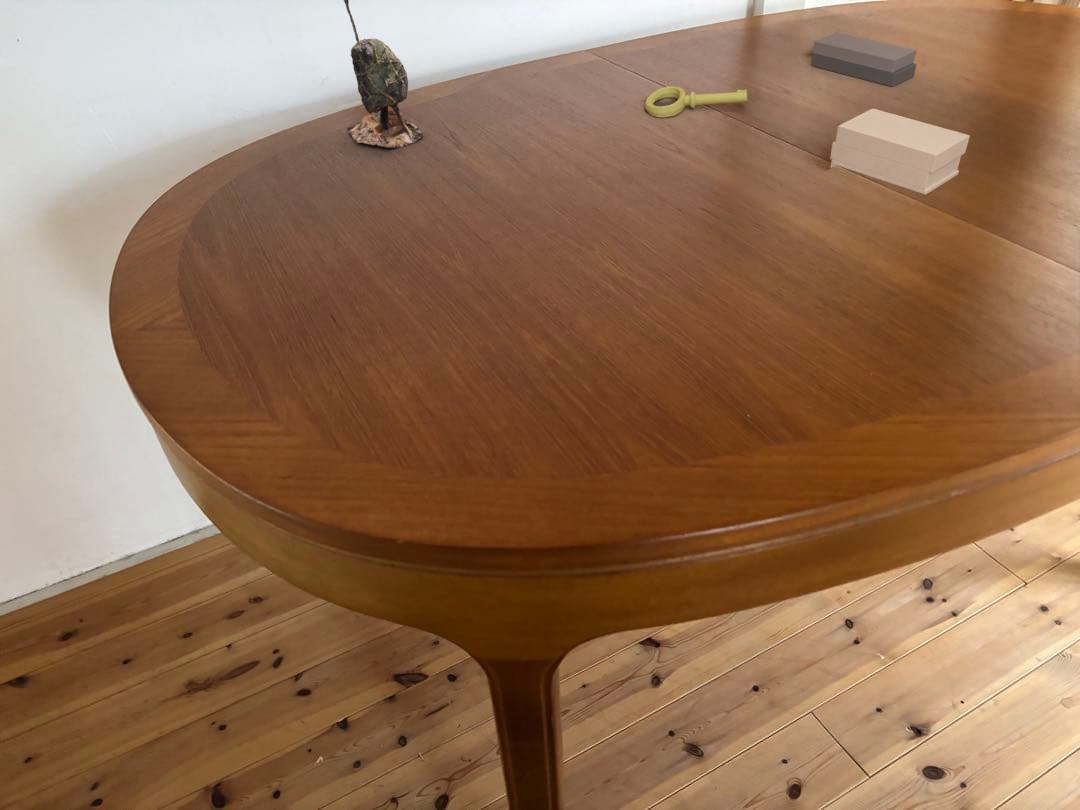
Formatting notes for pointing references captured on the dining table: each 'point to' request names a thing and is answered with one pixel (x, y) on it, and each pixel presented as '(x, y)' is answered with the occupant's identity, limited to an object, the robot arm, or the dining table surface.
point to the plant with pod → (380, 94)
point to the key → (688, 100)
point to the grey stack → (864, 58)
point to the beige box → (899, 150)
